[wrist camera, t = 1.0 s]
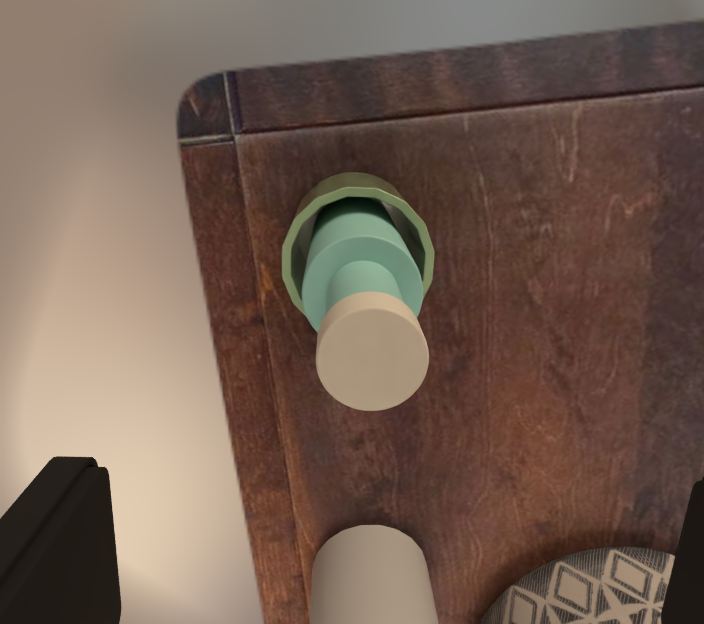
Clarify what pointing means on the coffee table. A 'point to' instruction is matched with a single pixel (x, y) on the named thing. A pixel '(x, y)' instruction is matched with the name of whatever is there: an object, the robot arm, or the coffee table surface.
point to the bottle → (364, 306)
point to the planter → (589, 589)
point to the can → (371, 579)
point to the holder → (352, 186)
